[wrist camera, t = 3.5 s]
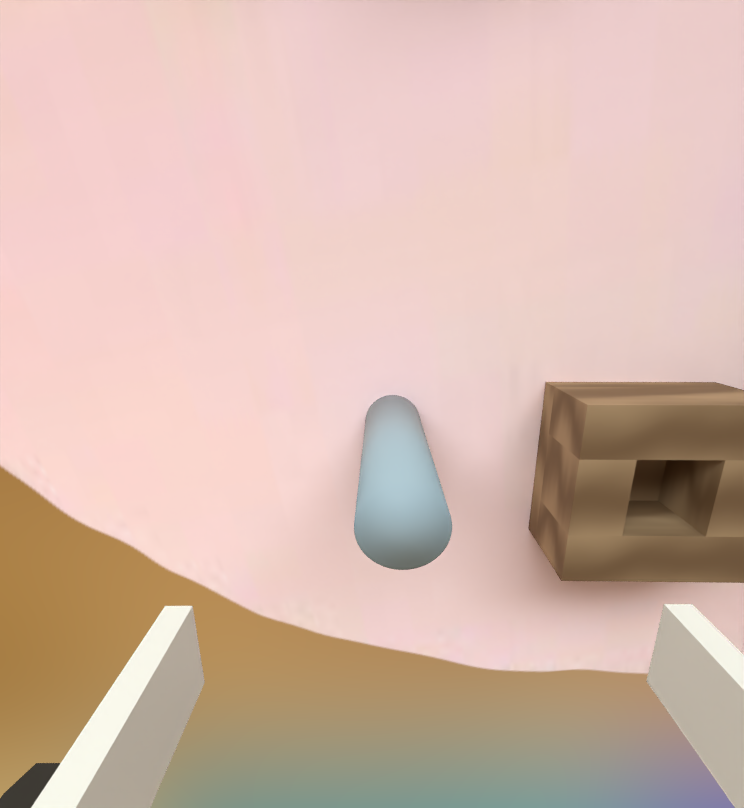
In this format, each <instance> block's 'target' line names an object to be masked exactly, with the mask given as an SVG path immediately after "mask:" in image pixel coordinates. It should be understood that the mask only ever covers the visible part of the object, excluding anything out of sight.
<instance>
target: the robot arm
mask: <svg viewBox="0 0 744 808" xmlns="http://www.w3.org/2000/svg"><path fill="white" fill-rule="evenodd" d="M647 683H648V684H649V685H650V687H651V688H652V690H653V691H654V693H655V694H656V695H657V697H658V698H659V700H660V701H661V703H662V704H663V705H664V707H665V708H666V710H667V711H668V713H669V714H670V715H671V717H672V718H673V720H674V721H675V723H676V724H677V725H678V727H679V728H680V730H681V731H682V733H683V734H684V735H685V737H686V738H687V740H688V741H689V743H690V744H691V745H692V747H693V748H694V750H695V751H696V753H697V754H698V755H699V757H700V758H701V760H702V761H703V763H704V764H705V765H706V767H707V768H708V770H709V771H710V773H711V774H712V775H713V777H714V778H715V780H716V781H717V782H718V784H719V785H720V787H721V788H722V790H723V791H724V793H725V794H726V795H727V797H728V798H729V800H730V801H731V803H732V804H733V805H734V807H735V808H744V655H743V654H742V653H741V652H740V651H739V650H738V649H737V648H736V647H735V646H734V645H733V644H732V643H731V642H730V641H729V640H728V639H727V638H726V637H725V636H724V635H723V634H722V633H721V632H720V631H719V630H718V629H717V628H716V627H715V626H714V625H713V624H712V623H711V622H710V621H709V620H708V619H707V618H706V617H704V616H703V615H702V614H701V613H700V612H699V611H698V610H697V609H696V608H695V607H694V606H693V605H692V604H664V606H663V611H662V615H661V620H660V624H659V628H658V633H657V637H656V642H655V646H654V651H653V655H652V659H651V664H650V668H649V673H648V677H647ZM203 685H204V676H203V670H202V663H201V657H200V651H199V644H198V638H197V632H196V625H195V619H194V613H193V606H165V607H164V609H163V610H162V612H161V614H160V615H159V616H158V618H157V619H156V621H155V622H154V624H153V625H152V627H151V629H150V630H149V631H148V633H147V634H146V636H145V637H144V639H143V640H142V642H141V643H140V645H139V646H138V648H137V649H136V651H135V652H134V654H133V655H132V657H131V658H130V660H129V661H128V663H127V664H126V666H125V668H124V669H123V671H122V672H121V673H120V675H119V676H118V678H117V679H116V681H115V682H114V684H113V685H112V687H111V689H110V690H109V691H108V693H107V695H106V696H105V698H104V699H103V700H102V702H101V703H100V705H99V706H98V708H97V709H96V711H95V712H94V714H93V715H92V717H91V719H90V720H89V721H88V723H87V724H86V726H85V727H84V729H83V731H82V732H81V734H80V735H79V737H78V738H77V740H76V741H75V743H74V744H73V746H72V747H71V749H70V750H69V752H68V753H67V755H66V756H65V758H64V759H63V761H62V762H61V763H36V764H35V765H34V766H33V767H32V768H31V769H30V770H29V771H28V772H26V773H25V774H24V775H23V776H22V777H21V778H20V779H19V780H18V781H17V782H16V783H15V784H14V785H13V786H12V787H10V788H9V789H8V790H7V791H6V792H5V793H4V794H3V795H2V797H1V798H0V808H150V807H151V804H152V802H153V800H154V798H155V795H156V793H157V791H158V788H159V786H160V784H161V781H162V779H163V777H164V774H165V772H166V770H167V768H168V765H169V763H170V761H171V758H172V756H173V754H174V751H175V749H176V747H177V745H178V742H179V740H180V738H181V735H182V733H183V731H184V728H185V726H186V724H187V722H188V719H189V717H190V715H191V712H192V710H193V708H194V706H195V703H196V701H197V698H198V696H199V694H200V692H201V689H202V687H203Z"/></svg>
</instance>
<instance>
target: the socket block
mask: <svg viewBox="0 0 744 808" xmlns="http://www.w3.org/2000/svg"><path fill="white" fill-rule="evenodd" d="M529 530H530V531H531V533H532V535H533V536H534V538H535V539H536V541H537V543H538V544H539V546H540V547H541V549H542V551H543V552H544V554H545V555H546V557H547V559H548V560H549V562H550V563H551V565H552V567H553V568H554V570H555V571H556V573H557V575H558V576H559V578H560V579H561V581H639V582H731V583H744V390H741V389H738V388H734V387H730V386H727V385H723V384H719V383H716V382H546V386H545V394H544V403H543V411H542V420H541V428H540V437H539V445H538V454H537V462H536V471H535V479H534V487H533V496H532V504H531V513H530V521H529Z"/></svg>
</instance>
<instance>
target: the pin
mask: <svg viewBox="0 0 744 808" xmlns="http://www.w3.org/2000/svg"><path fill="white" fill-rule="evenodd" d="M451 532H452V521H451V516H450V513H449V510H448V506H447V503H446V500H445V497H444V494H443V491H442V487H441V484H440V481H439V478H438V475H437V471H436V468H435V465H434V462H433V459H432V455H431V452H430V449H429V446H428V443H427V440H426V436H425V433H424V430H423V427H422V424H421V420H420V417H419V414H418V411H417V409H416V407H415V406H414V405H413V404H412V403H411V402H410V401H409V400H408V399H406V398H404V397H401V396H397V395H389V396H384V397H382V398H380V399H378V400H376V401H375V402H374V403H373V404H372V405H371V406H370V408H369V410H368V412H367V415H366V422H365V431H364V440H363V449H362V458H361V467H360V476H359V485H358V494H357V503H356V512H355V521H354V533H355V537H356V540H357V543H358V545H359V547H360V548H361V550H362V551H363V552H364V554H365V555H366V556H367V557H368V558H370V559H371V560H372V561H374V562H376V563H377V564H379V565H382V566H384V567H387V568H391V569H398V570H408V569H414V568H418V567H421V566H424V565H426V564H428V563H430V562H432V561H433V560H434V559H436V558H437V557H438V556H439V555H440V554H441V553H442V552H443V551H444V549H445V548H446V546H447V544H448V542H449V540H450V537H451Z"/></svg>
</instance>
